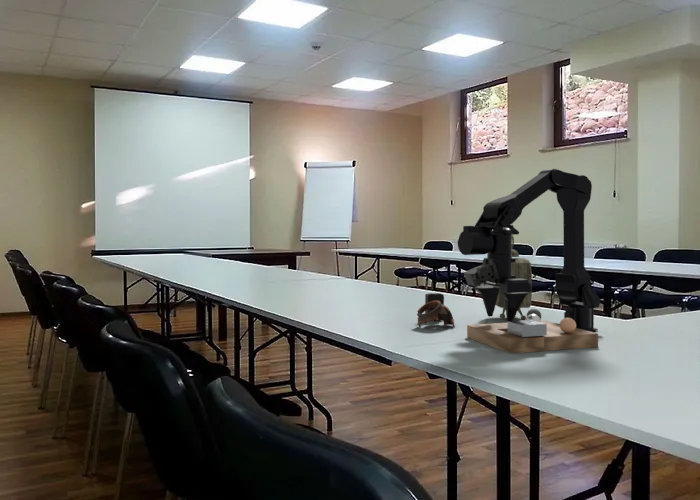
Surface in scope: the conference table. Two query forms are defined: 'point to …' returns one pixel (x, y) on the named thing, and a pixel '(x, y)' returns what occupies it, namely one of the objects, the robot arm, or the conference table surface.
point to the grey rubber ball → (534, 312)
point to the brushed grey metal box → (527, 328)
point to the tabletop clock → (521, 272)
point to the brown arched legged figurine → (435, 314)
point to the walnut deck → (531, 338)
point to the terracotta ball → (567, 325)
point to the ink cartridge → (434, 299)
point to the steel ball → (533, 317)
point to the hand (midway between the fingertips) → (499, 319)
